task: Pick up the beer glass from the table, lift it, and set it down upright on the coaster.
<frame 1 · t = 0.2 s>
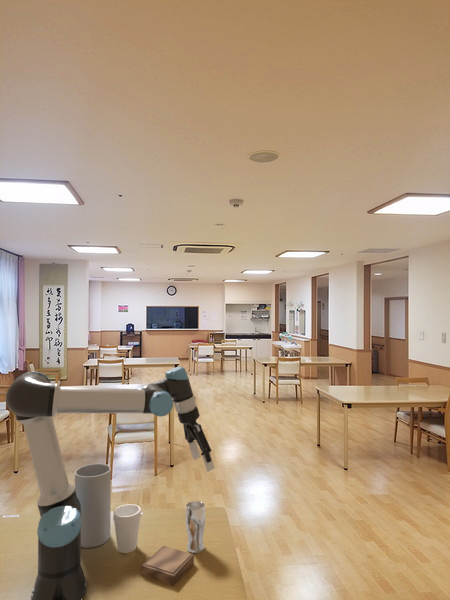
hand: (203, 463, 149), 27 cm above the table, tool tilted 15°, fingers open, 13 cm apart
foam cup: (127, 548, 144), on the table
cylinder vase: (92, 539, 150), on the table
coaster: (168, 569, 132), on the table
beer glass: (195, 548, 143), on the table
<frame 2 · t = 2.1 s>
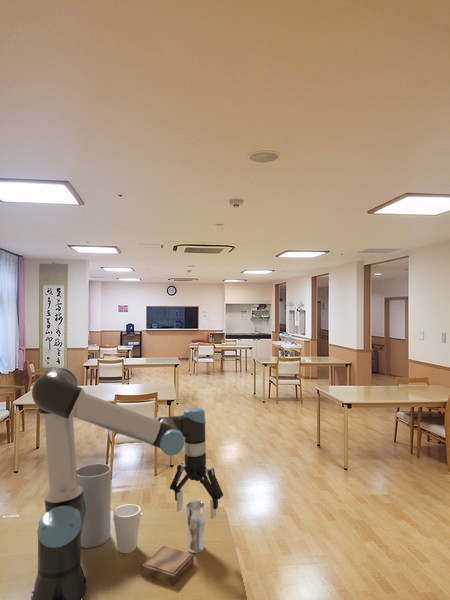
hand: (196, 513, 144), 12 cm above the table, tool pointing down, fingers open, 13 cm apart
nothing on the table moved.
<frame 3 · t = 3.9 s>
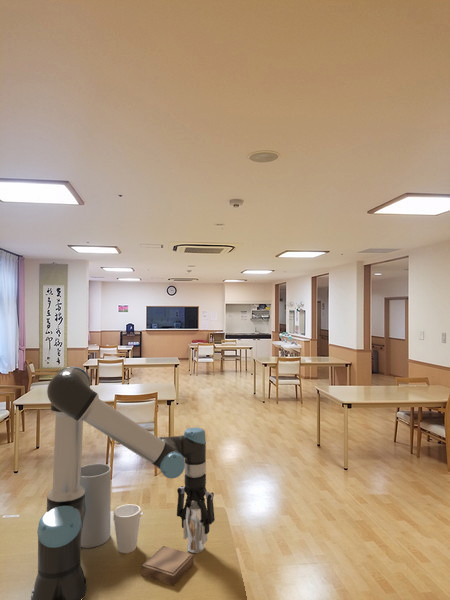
hand: (195, 539, 144), 3 cm above the table, tool pointing down, fingers closed on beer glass, 7 cm apart
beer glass: (195, 548, 144), on the table, touching gripper
everything else where it was.
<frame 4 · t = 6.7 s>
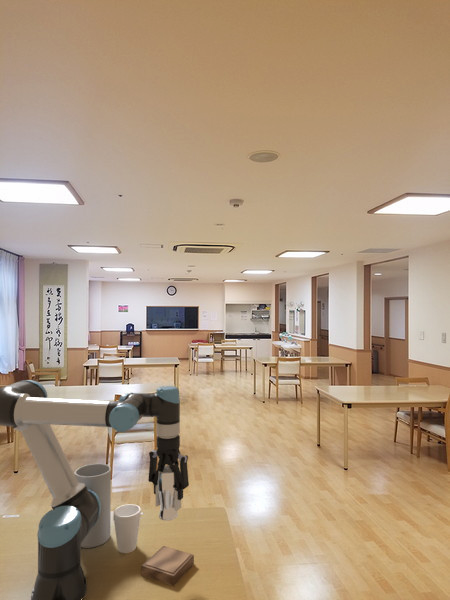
hand: (168, 506, 132), 20 cm above the table, tool pointing down, fingers closed on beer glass, 7 cm apart
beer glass: (168, 516, 132), point 17 cm above the table, touching gripper
everything else where it was.
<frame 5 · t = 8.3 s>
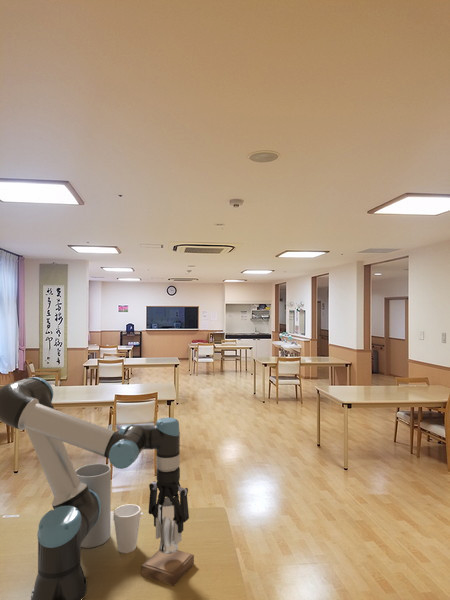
hand: (168, 539, 132), 10 cm above the table, tool pointing down, fingers closed on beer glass, 7 cm apart
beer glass: (168, 549, 132), point 6 cm above the table, touching gripper
everything else where it was.
when the fingers open (7 cm above the table, at t = 9.6 s): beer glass drops 1 cm, resting on coaster.
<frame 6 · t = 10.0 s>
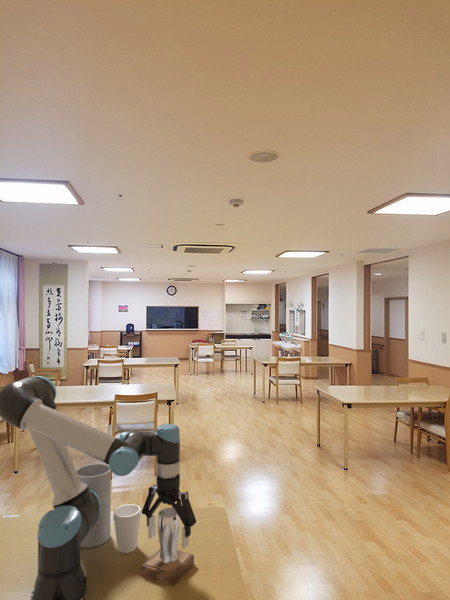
hand: (168, 541, 132), 9 cm above the table, tool pointing down, fingers open, 12 cm apart
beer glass: (168, 559, 132), point 3 cm above the table, touching coaster
everything else where it was.
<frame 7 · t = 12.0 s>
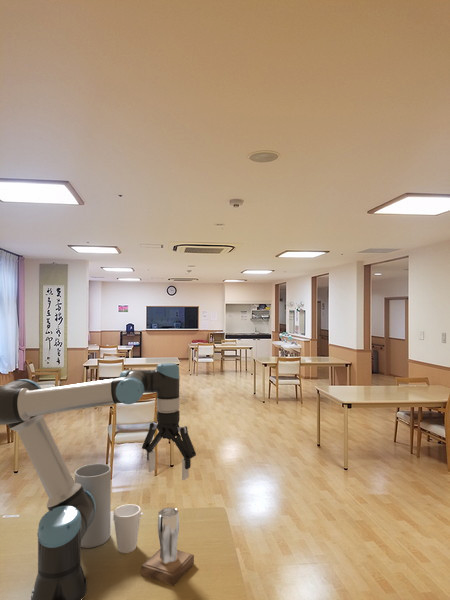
hand: (168, 474, 136), 29 cm above the table, tool pointing down, fingers open, 13 cm apart
nothing on the table moved.
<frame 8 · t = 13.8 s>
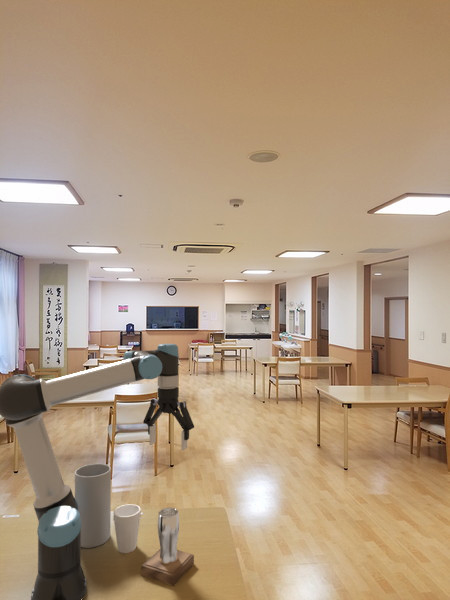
hand: (168, 446, 147), 35 cm above the table, tool pointing down, fingers open, 13 cm apart
nothing on the table moved.
at the end: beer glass inside the target area on the coaster (0.0 cm from its centre), point 3.1 cm above the coaster's base; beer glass tilted 0°; the gripper is holding nothing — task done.
